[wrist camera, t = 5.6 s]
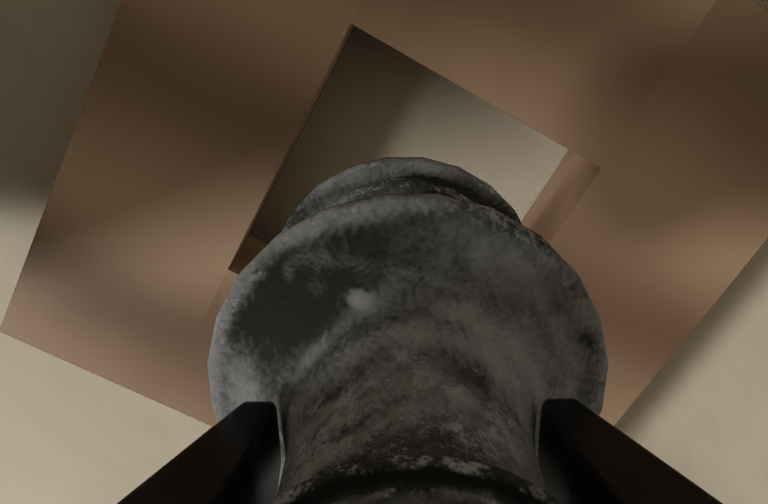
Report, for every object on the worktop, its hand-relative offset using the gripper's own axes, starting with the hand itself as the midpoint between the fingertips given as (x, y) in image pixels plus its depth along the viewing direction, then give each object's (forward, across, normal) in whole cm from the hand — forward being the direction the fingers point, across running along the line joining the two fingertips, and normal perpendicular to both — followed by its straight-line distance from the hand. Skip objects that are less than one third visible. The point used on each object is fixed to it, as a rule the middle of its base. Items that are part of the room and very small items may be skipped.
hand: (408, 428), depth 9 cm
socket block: (+13, 0, 0) cm, 13 cm away
